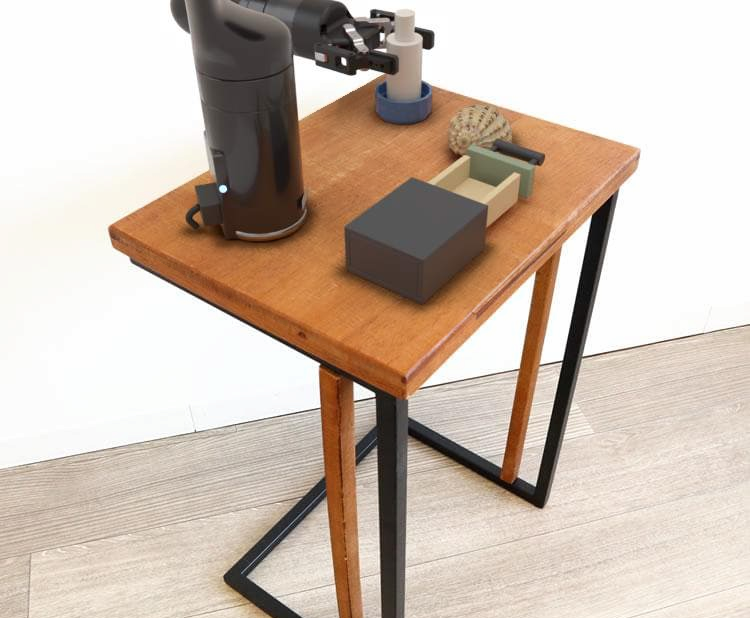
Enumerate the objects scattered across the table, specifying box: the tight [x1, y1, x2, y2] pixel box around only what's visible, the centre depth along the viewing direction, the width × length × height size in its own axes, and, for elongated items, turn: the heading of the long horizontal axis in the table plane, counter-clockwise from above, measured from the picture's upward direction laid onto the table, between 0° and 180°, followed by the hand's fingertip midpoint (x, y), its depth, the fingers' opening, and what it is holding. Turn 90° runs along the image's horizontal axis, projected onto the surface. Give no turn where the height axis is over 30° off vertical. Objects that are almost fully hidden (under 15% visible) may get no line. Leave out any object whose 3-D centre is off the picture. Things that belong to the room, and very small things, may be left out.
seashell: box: [446, 103, 513, 157], centre depth 100 cm, size 8×6×10 cm
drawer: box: [427, 138, 546, 229], centre depth 91 cm, size 14×8×4 cm, turn 143°
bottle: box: [385, 8, 423, 102], centre depth 103 cm, size 4×4×12 cm
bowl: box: [374, 79, 434, 125], centre depth 107 cm, size 7×7×3 cm
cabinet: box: [343, 176, 488, 305], centre depth 83 cm, size 11×9×5 cm
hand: (415, 53), depth 102 cm, fingers open, 8 cm apart
